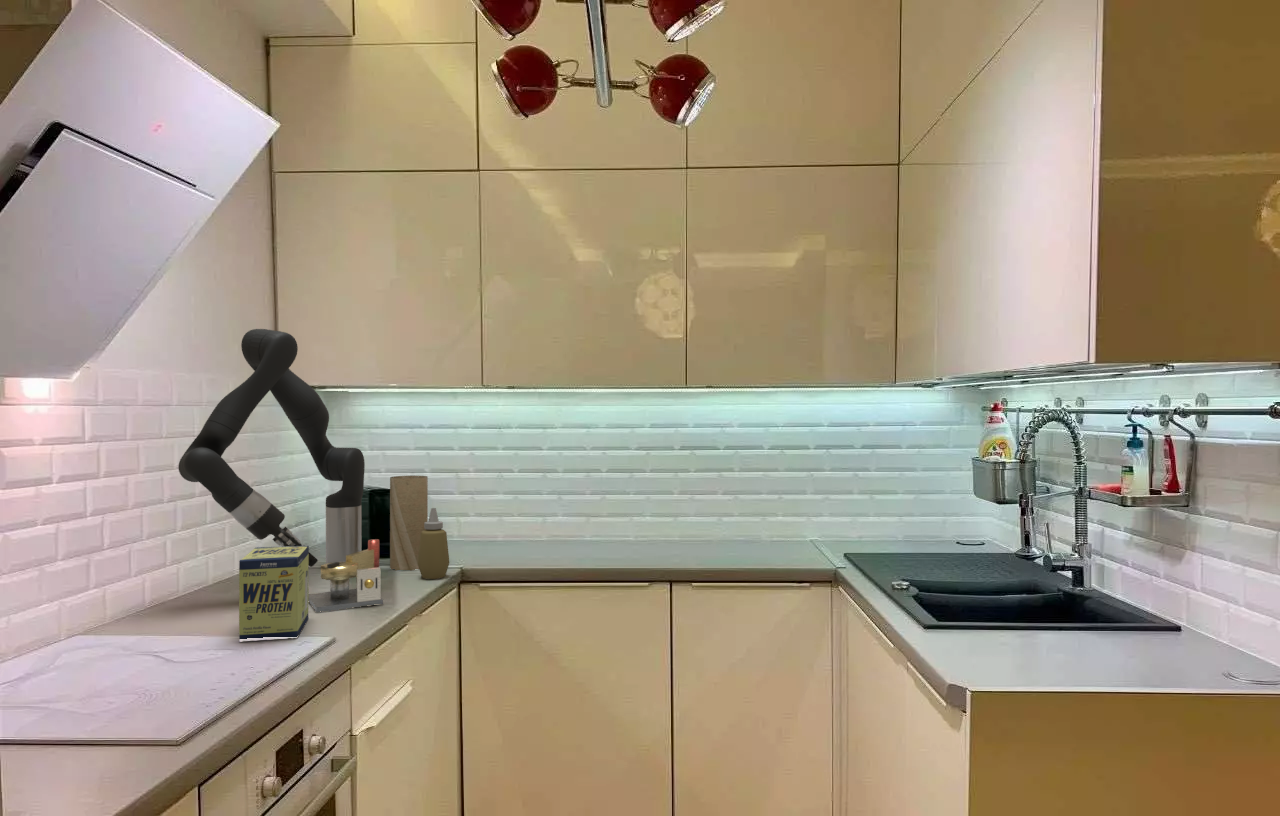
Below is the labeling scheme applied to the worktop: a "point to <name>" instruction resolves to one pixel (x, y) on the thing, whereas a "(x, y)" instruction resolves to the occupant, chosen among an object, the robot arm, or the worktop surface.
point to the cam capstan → (352, 563)
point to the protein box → (273, 592)
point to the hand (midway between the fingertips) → (314, 563)
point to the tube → (407, 519)
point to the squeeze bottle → (433, 549)
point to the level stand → (350, 592)
